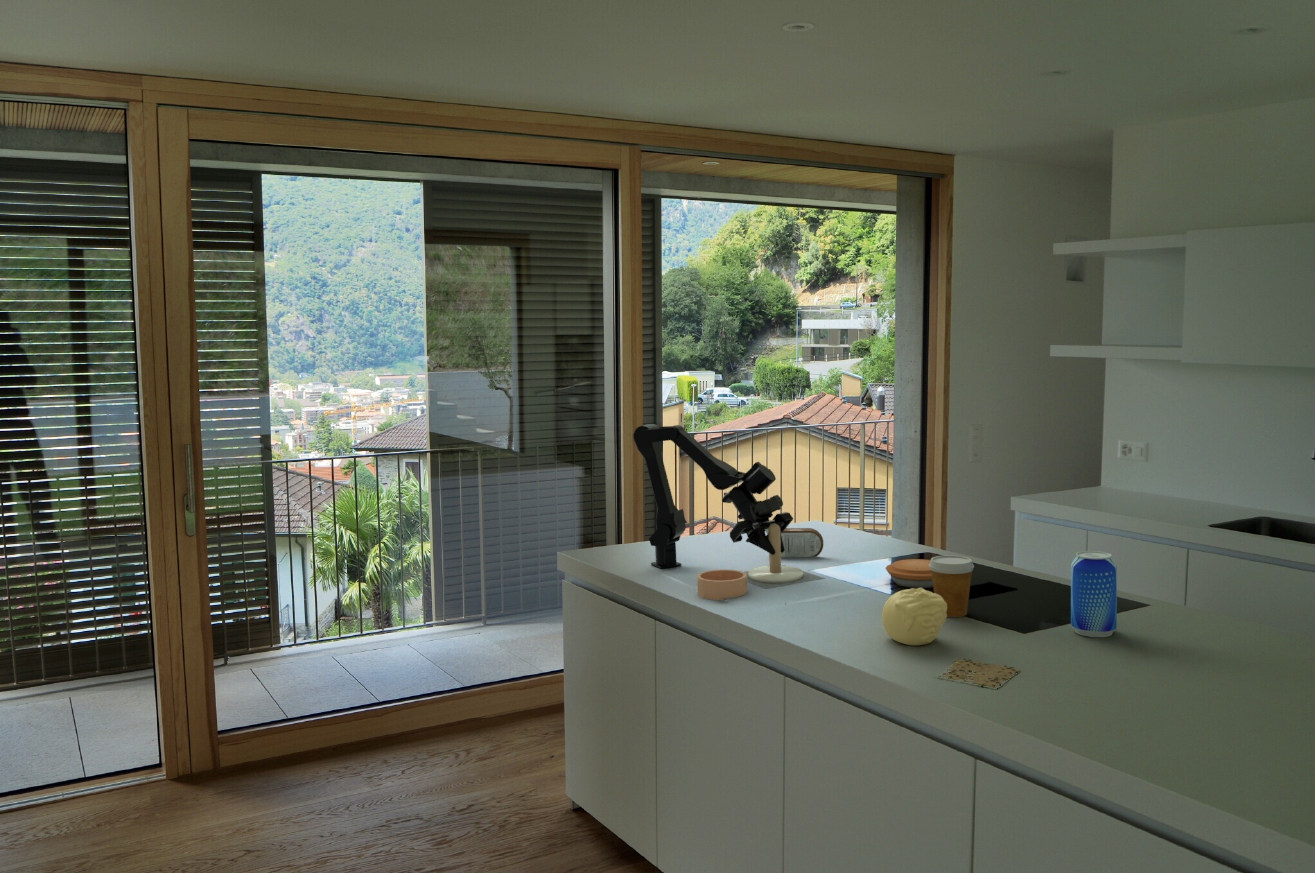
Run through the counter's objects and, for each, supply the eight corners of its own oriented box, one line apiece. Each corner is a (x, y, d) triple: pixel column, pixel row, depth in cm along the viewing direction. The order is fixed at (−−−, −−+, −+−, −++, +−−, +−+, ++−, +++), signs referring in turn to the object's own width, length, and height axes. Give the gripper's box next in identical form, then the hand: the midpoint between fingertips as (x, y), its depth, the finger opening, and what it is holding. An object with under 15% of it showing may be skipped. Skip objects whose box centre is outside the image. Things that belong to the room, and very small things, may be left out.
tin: (823, 556, 276) (822, 526, 276) (824, 559, 273) (823, 529, 272) (769, 557, 278) (768, 528, 277) (769, 559, 275) (769, 530, 274)
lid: (737, 574, 256) (736, 523, 255) (782, 567, 263) (781, 516, 261) (768, 585, 244) (766, 531, 242) (814, 577, 250) (812, 524, 249)
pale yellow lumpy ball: (911, 653, 190) (911, 599, 189) (871, 638, 200) (870, 586, 199) (956, 643, 195) (955, 590, 194) (914, 628, 206) (913, 578, 205)
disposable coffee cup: (977, 609, 218) (976, 556, 217) (971, 621, 209) (970, 565, 208) (933, 606, 222) (932, 553, 221) (925, 617, 213) (925, 563, 212)
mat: (727, 576, 257) (727, 574, 257) (784, 566, 265) (784, 565, 265) (765, 590, 241) (765, 588, 241) (825, 580, 249) (825, 578, 249)
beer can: (1114, 627, 201) (1114, 550, 200) (1118, 639, 193) (1119, 559, 192) (1069, 625, 204) (1069, 549, 202) (1072, 637, 196) (1072, 558, 195)
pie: (881, 588, 240) (880, 568, 239) (891, 573, 254) (890, 554, 253) (947, 592, 234) (946, 571, 233) (953, 577, 248) (953, 557, 248)
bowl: (689, 591, 243) (688, 574, 242) (730, 584, 248) (729, 567, 248) (713, 602, 232) (713, 583, 232) (756, 594, 238) (756, 576, 237)
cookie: (957, 660, 186) (957, 655, 186) (1022, 672, 178) (1022, 667, 178) (930, 679, 177) (930, 673, 177) (997, 692, 169) (997, 686, 169)
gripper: (736, 490, 248) (768, 539, 241) (787, 481, 260) (819, 528, 252) (715, 517, 255) (747, 566, 247) (766, 508, 267) (797, 553, 259)
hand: (778, 552), depth 251 cm, fingers closed on lid, 3 cm apart
